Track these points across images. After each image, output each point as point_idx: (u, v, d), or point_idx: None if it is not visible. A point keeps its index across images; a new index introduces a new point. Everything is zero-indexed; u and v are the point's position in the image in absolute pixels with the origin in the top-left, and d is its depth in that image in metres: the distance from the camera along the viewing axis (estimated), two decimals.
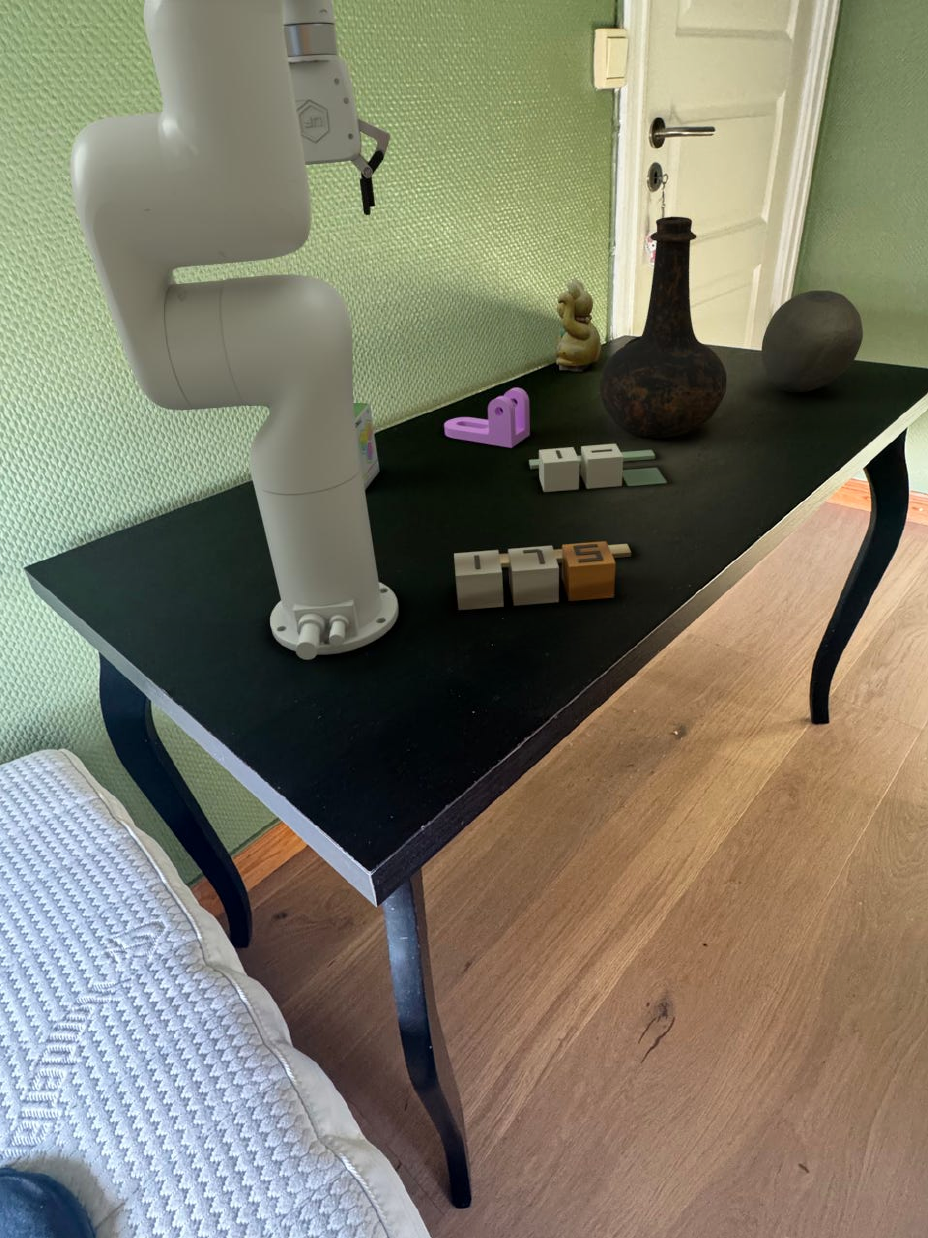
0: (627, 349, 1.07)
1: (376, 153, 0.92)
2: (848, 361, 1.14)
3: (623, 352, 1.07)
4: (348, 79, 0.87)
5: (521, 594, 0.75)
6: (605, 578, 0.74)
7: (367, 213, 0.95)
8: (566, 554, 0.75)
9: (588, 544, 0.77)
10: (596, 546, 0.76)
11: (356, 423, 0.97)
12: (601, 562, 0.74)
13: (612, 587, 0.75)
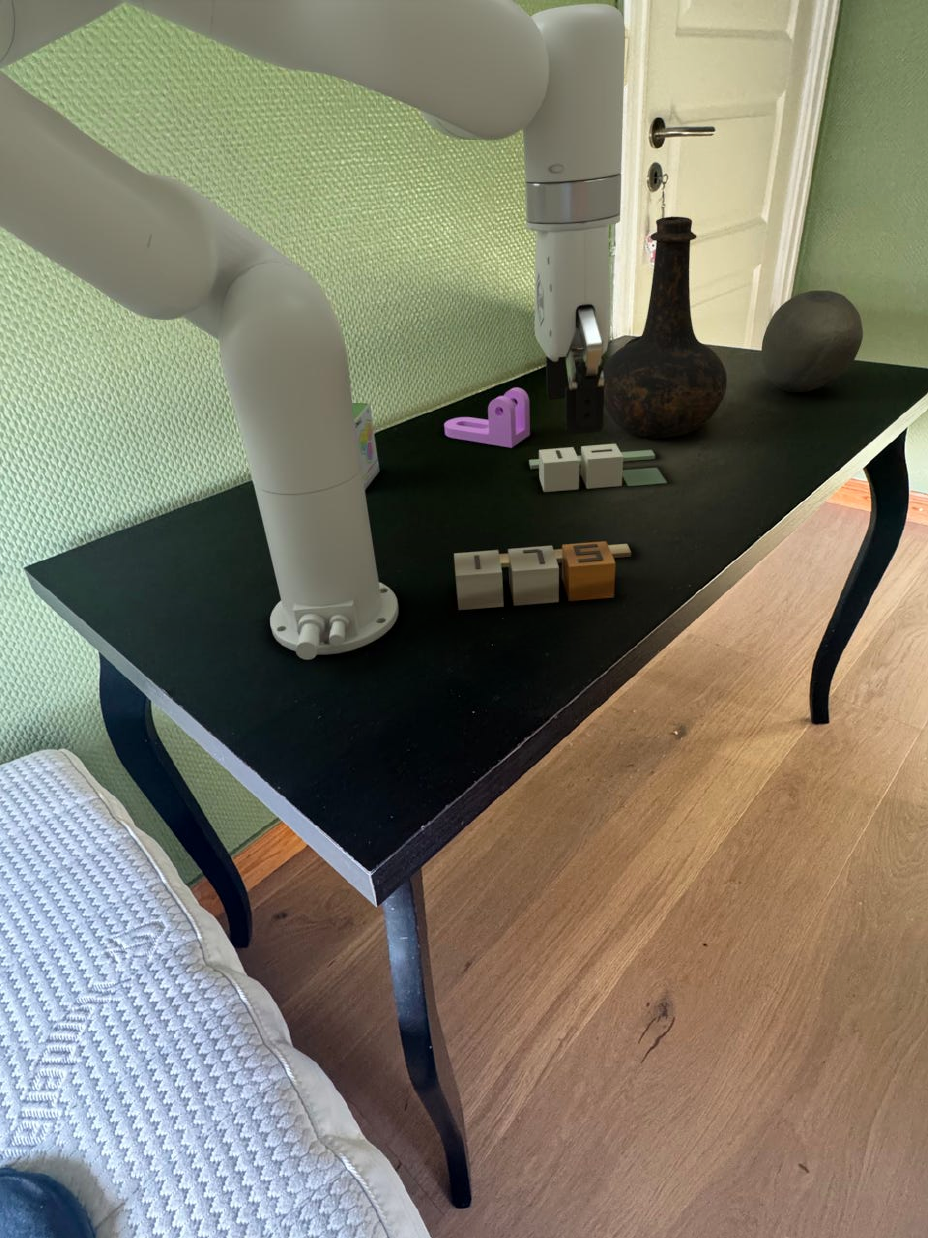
0: (627, 349, 1.07)
1: (579, 364, 0.61)
2: (848, 361, 1.14)
3: (623, 352, 1.07)
4: (563, 260, 0.59)
5: (521, 594, 0.75)
6: (605, 578, 0.74)
7: (567, 432, 0.66)
8: (566, 554, 0.75)
9: (588, 544, 0.77)
10: (596, 546, 0.76)
11: (356, 423, 0.97)
12: (601, 562, 0.74)
13: (612, 587, 0.75)
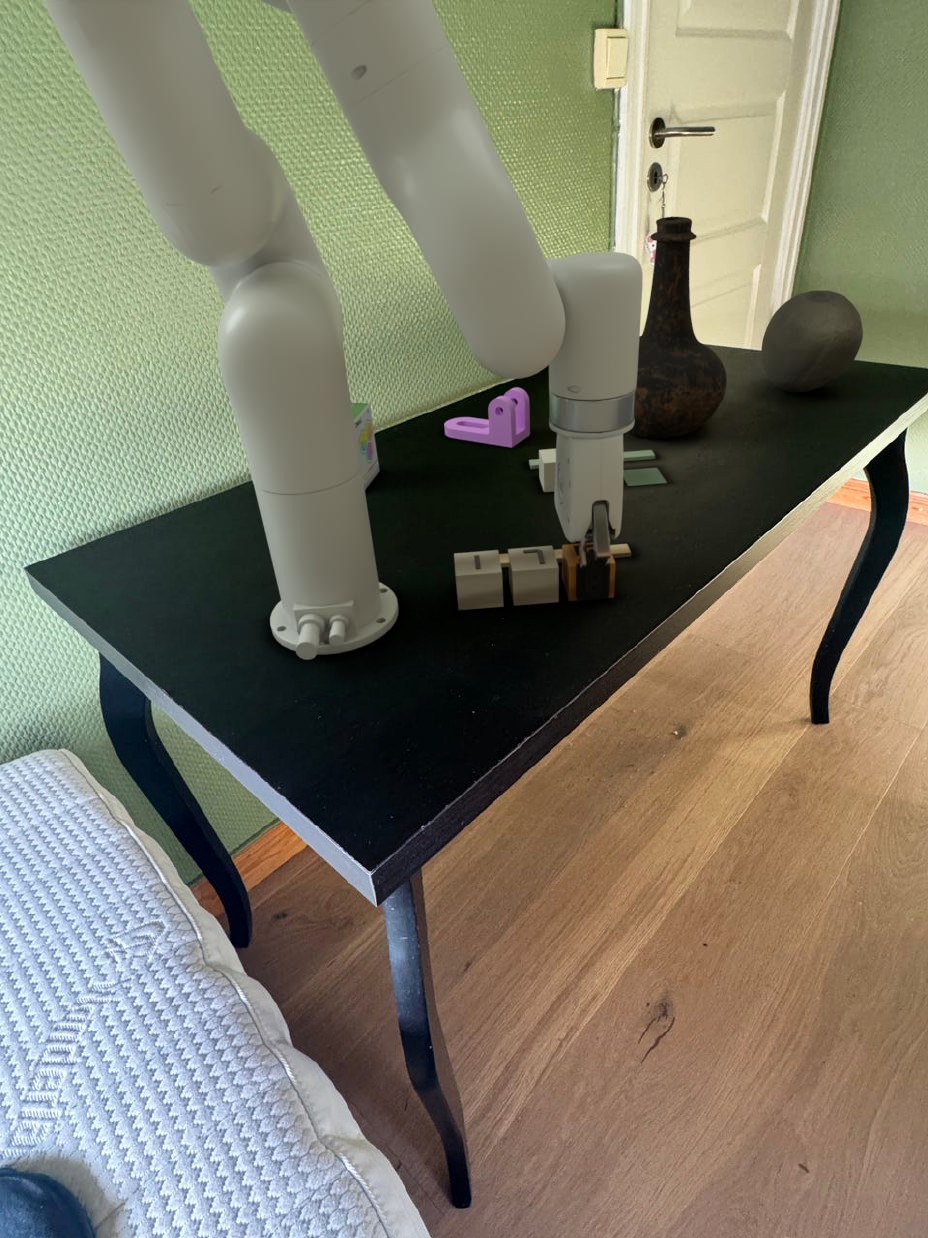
0: None
1: (588, 551, 0.70)
2: (848, 361, 1.14)
3: None
4: (581, 464, 0.65)
5: (521, 594, 0.75)
6: None
7: None
8: (566, 554, 0.75)
9: (588, 544, 0.77)
10: None
11: (356, 423, 0.97)
12: None
13: (612, 587, 0.75)
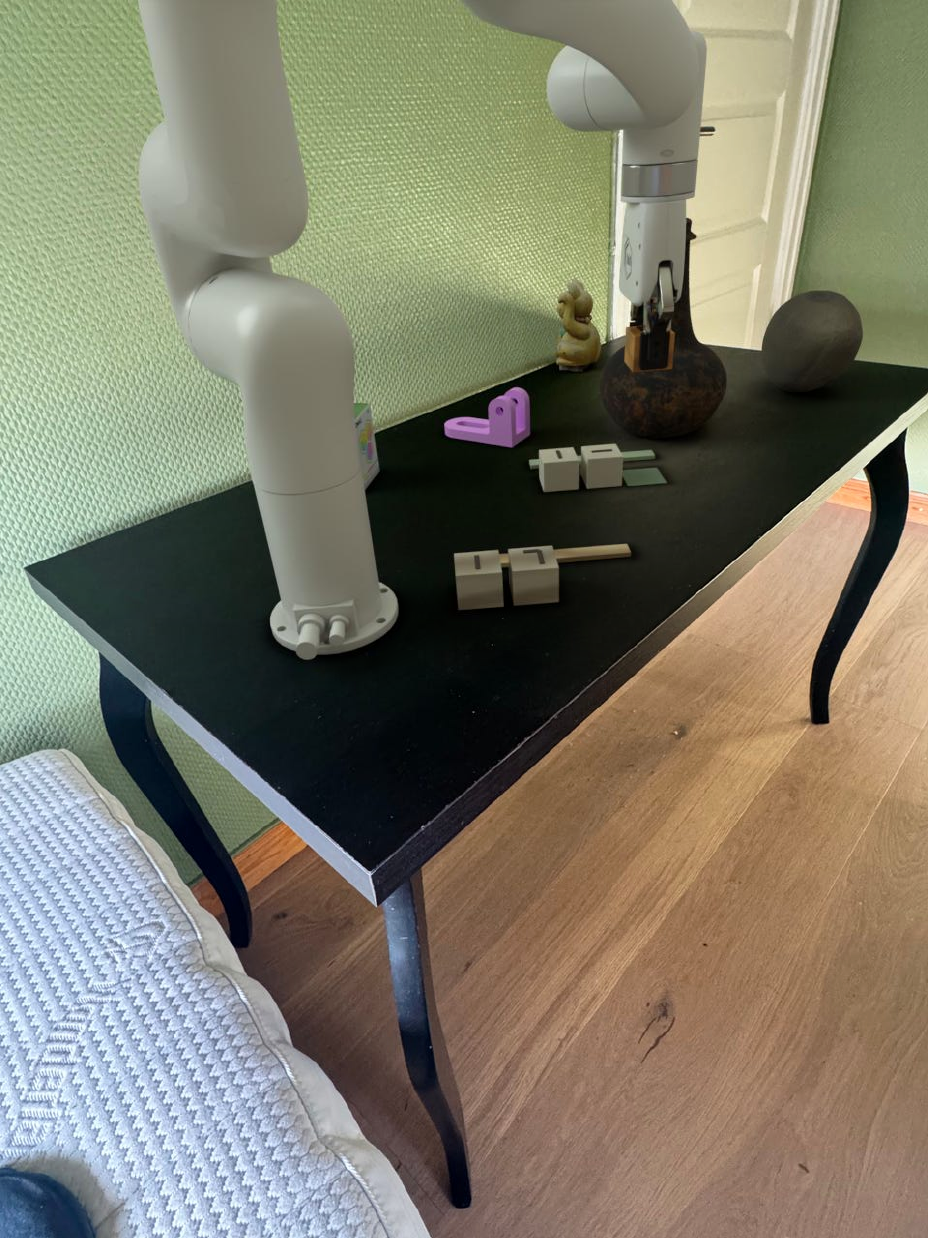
0: None
1: (653, 313, 0.81)
2: (848, 361, 1.14)
3: (623, 352, 1.07)
4: (651, 225, 0.76)
5: (521, 594, 0.75)
6: None
7: None
8: (630, 331, 0.87)
9: None
10: None
11: (356, 423, 0.97)
12: None
13: (671, 358, 0.86)
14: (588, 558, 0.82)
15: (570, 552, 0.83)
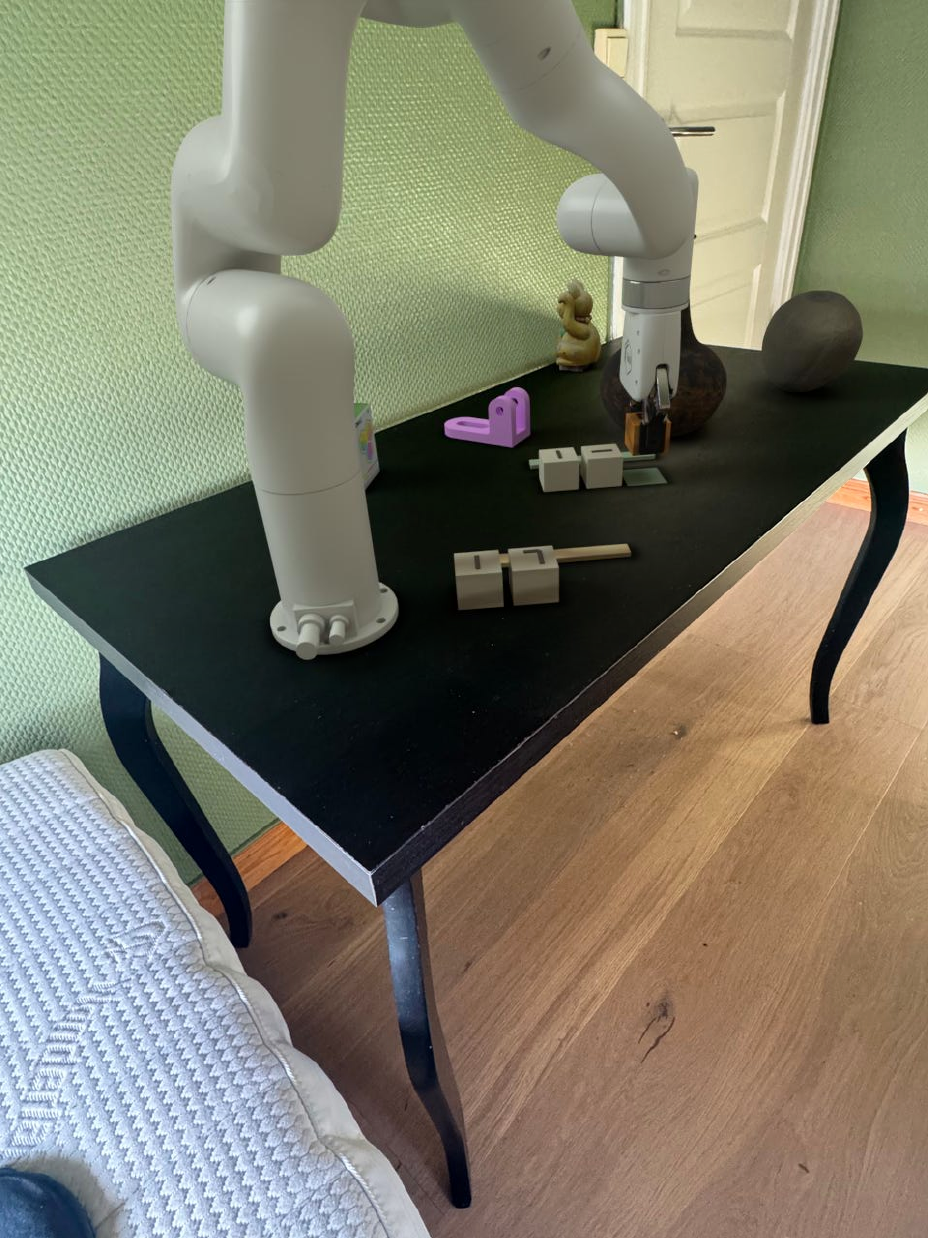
0: None
1: (651, 408, 0.90)
2: (848, 361, 1.14)
3: None
4: (649, 334, 0.85)
5: (521, 594, 0.75)
6: None
7: None
8: (630, 418, 0.95)
9: None
10: None
11: (356, 423, 0.97)
12: None
13: (667, 444, 0.95)
14: (588, 558, 0.82)
15: (570, 552, 0.83)
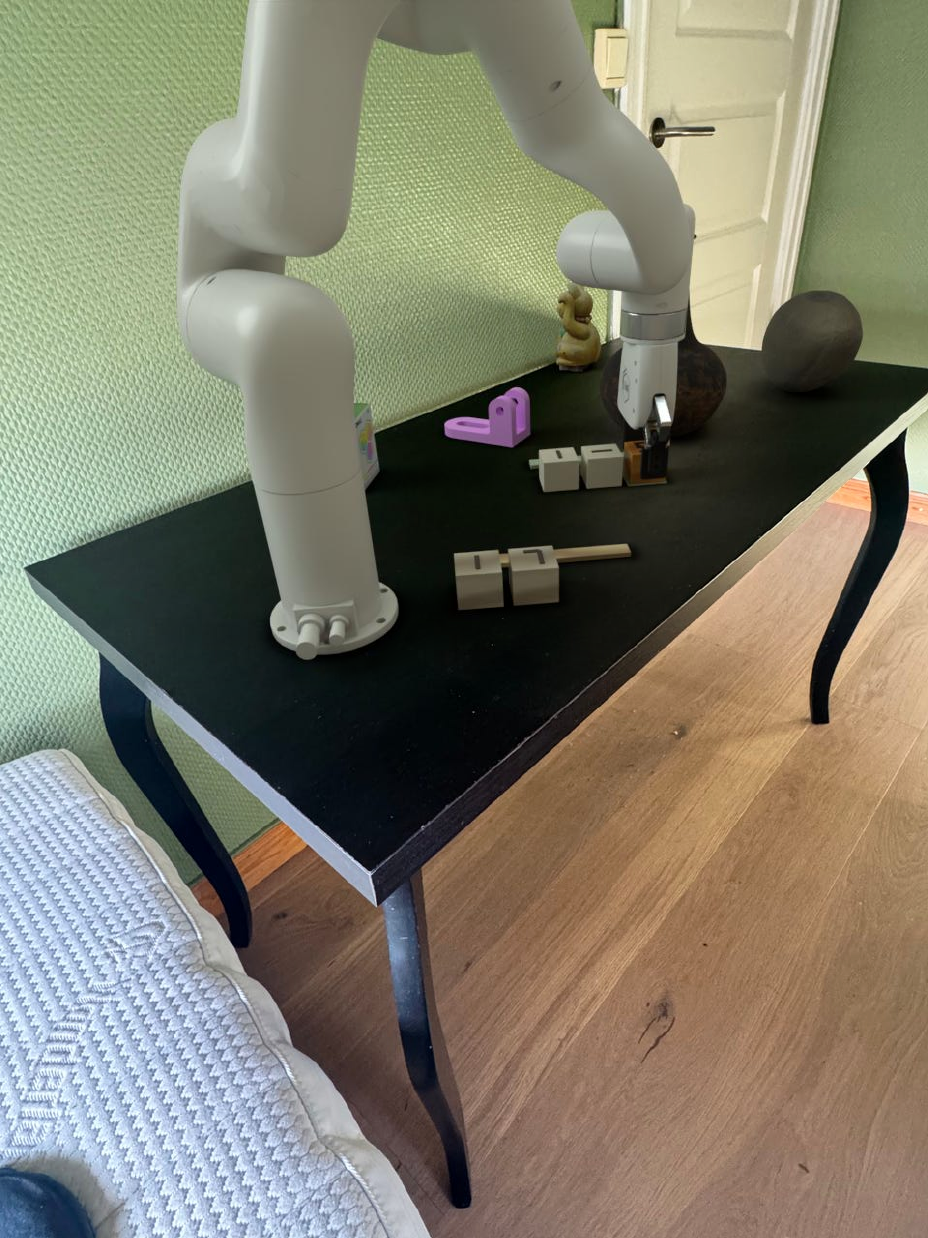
0: None
1: (653, 433, 0.89)
2: (848, 361, 1.14)
3: None
4: (646, 364, 0.87)
5: (521, 594, 0.75)
6: None
7: (640, 477, 0.94)
8: (629, 447, 0.97)
9: None
10: None
11: (356, 423, 0.97)
12: None
13: None
14: (588, 558, 0.82)
15: (570, 552, 0.83)
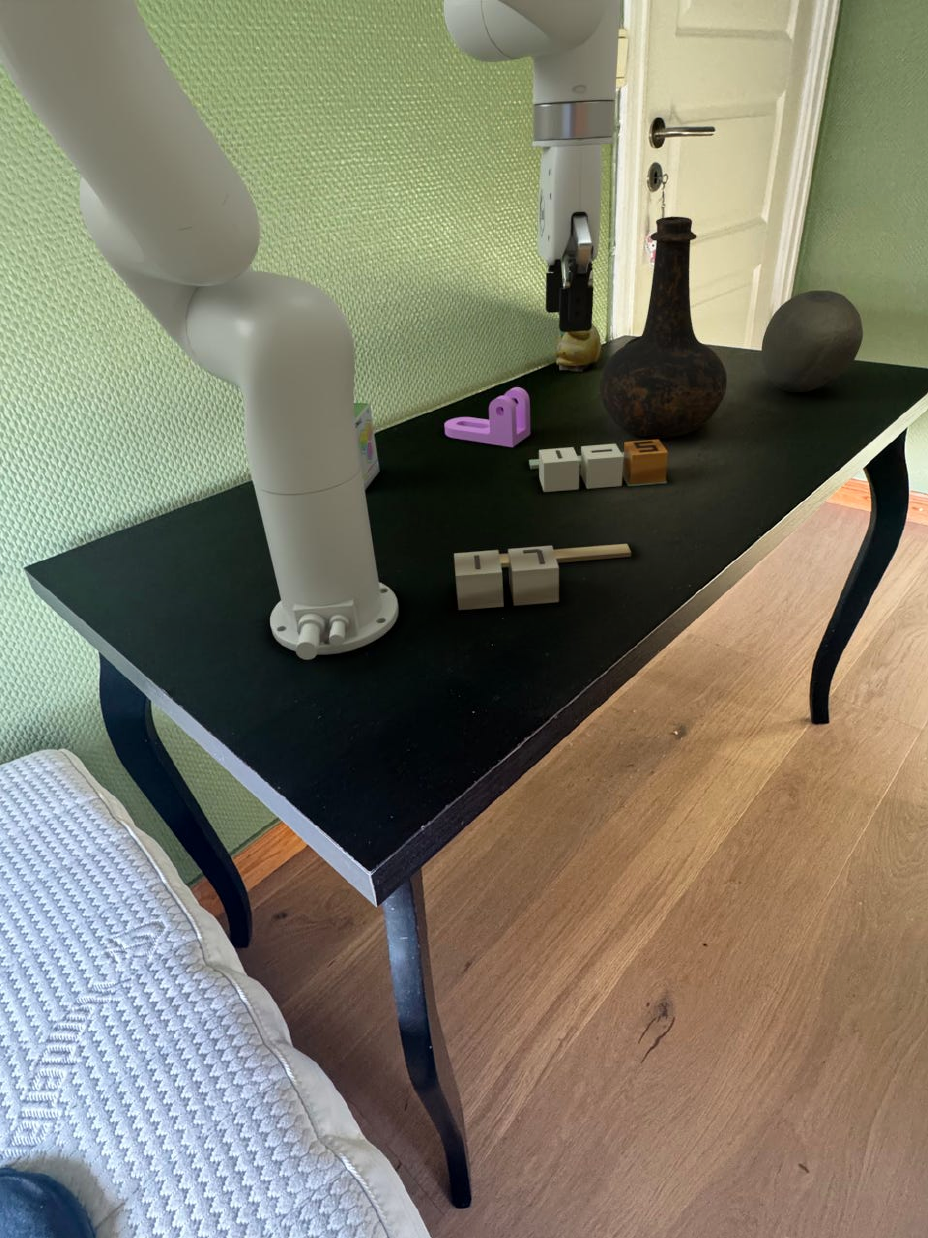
0: (627, 349, 1.07)
1: (571, 263, 0.71)
2: (848, 361, 1.14)
3: (623, 352, 1.07)
4: (562, 170, 0.69)
5: (521, 594, 0.75)
6: (659, 465, 0.96)
7: (560, 329, 0.76)
8: (629, 447, 0.97)
9: (645, 441, 0.99)
10: (651, 442, 0.98)
11: (356, 423, 0.97)
12: (657, 452, 0.95)
13: (664, 473, 0.97)
14: (588, 558, 0.82)
15: (570, 552, 0.83)
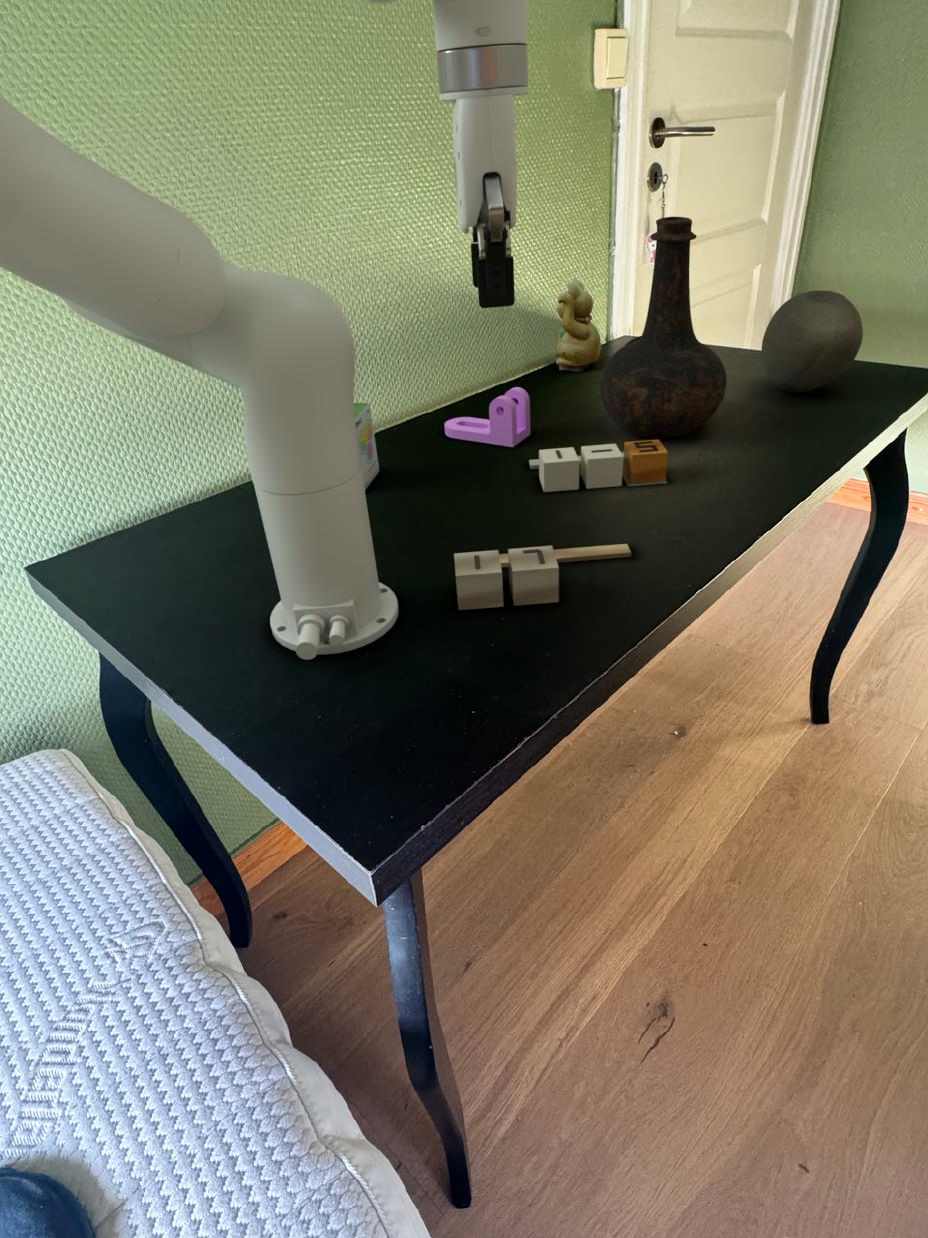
0: (627, 349, 1.07)
1: (485, 231, 0.64)
2: (848, 361, 1.14)
3: (623, 352, 1.07)
4: (468, 126, 0.61)
5: (521, 594, 0.75)
6: (659, 465, 0.96)
7: (480, 305, 0.69)
8: (629, 447, 0.97)
9: (645, 441, 0.99)
10: (651, 442, 0.98)
11: (356, 423, 0.97)
12: (657, 452, 0.95)
13: (664, 473, 0.97)
14: (588, 558, 0.82)
15: (570, 552, 0.83)
